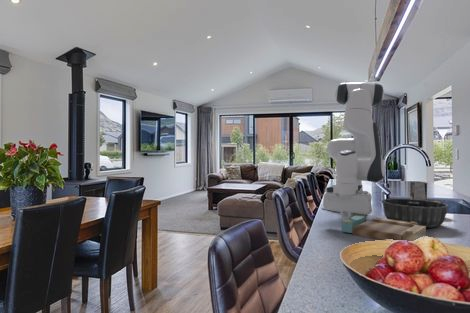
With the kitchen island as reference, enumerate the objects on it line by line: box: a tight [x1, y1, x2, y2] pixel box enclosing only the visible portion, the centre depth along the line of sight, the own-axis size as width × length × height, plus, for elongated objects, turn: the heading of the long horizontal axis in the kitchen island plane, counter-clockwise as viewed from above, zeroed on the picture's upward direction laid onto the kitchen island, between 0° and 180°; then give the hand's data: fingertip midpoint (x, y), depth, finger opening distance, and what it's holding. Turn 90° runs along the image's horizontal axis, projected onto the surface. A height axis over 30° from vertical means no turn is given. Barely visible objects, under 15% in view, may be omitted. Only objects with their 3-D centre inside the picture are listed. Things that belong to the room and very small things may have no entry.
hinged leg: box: [341, 215, 367, 234], centre depth 143 cm, size 18×4×5 cm, turn 143°
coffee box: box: [408, 181, 428, 201], centre depth 183 cm, size 9×6×16 cm
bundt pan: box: [381, 198, 449, 229], centre depth 154 cm, size 26×26×10 cm
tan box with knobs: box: [351, 217, 427, 241], centre depth 135 cm, size 22×20×4 cm
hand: (346, 222), depth 145 cm, fingers closed
